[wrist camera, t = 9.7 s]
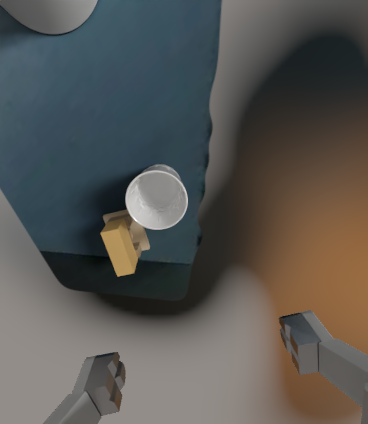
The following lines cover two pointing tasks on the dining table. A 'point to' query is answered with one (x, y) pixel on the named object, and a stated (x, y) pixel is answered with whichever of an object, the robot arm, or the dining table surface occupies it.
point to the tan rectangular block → (119, 247)
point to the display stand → (131, 230)
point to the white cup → (157, 197)
